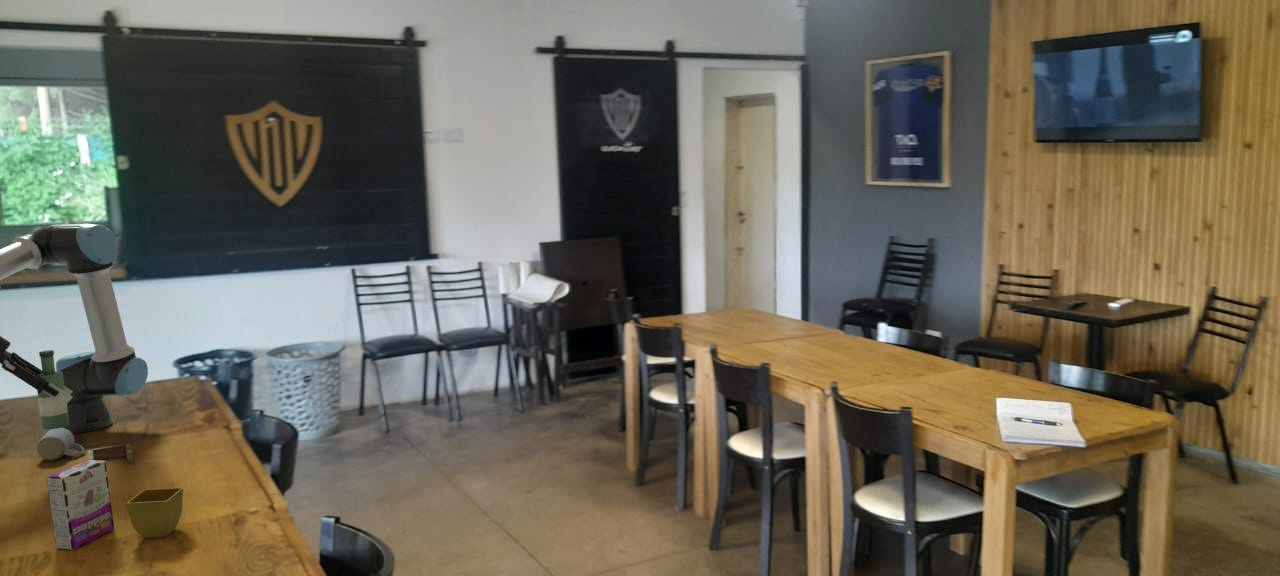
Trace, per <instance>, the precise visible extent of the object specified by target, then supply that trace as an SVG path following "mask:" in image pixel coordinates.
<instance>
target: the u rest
mask: <svg viewBox="0 0 1280 576" xmlns="http://www.w3.org/2000/svg"><path fill="white" fill-rule="evenodd" d="M123 456H126V458H127V463H128V465H131V464H134V458H133V457H134V456H133V449H132V445H131V443H130V442H127V443H122V444H115V445H108V446H102V447H98V448H97V447H96V448H91V449H87V460H105V459H106V460H107V459H113V458H116V457H123Z"/></svg>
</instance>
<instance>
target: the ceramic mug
mask: <svg viewBox="0 0 1280 576" xmlns="http://www.w3.org/2000/svg"><path fill="white" fill-rule="evenodd" d="M72 449H73V450H72ZM74 450H77V451H74ZM84 451H85V448H84V447H83V446H82V445H81V444H79V443H76V442H75V435H74V433H71V432H70V431H69V430H67V429H65V428H57V429H48V431H47V432H46V433H45V434H44V435H43V436H42V437H41V438H40V440H39V441H38V443H37V445H36V452H37V455H38V456H39V457H40V458H41V459H43V460H45V461H57V460H58V459H60V458H62V457H63V456H68V457H69V456H70V457H75V458H76V457H81V456H82V455H83V454H84Z"/></svg>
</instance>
